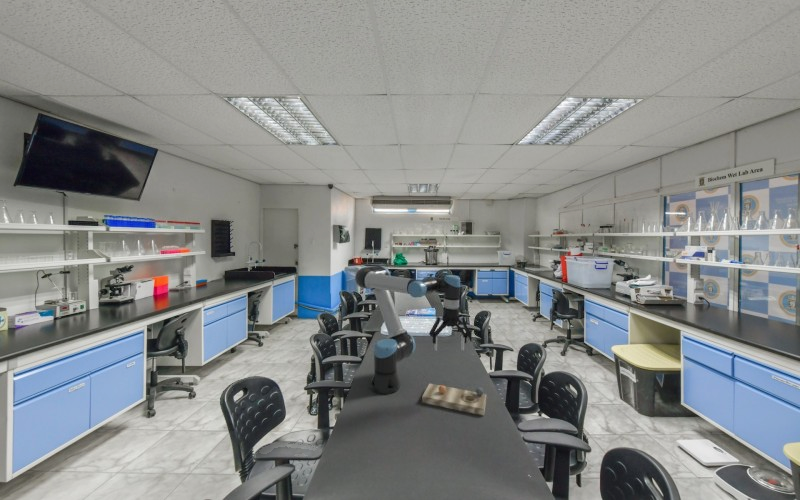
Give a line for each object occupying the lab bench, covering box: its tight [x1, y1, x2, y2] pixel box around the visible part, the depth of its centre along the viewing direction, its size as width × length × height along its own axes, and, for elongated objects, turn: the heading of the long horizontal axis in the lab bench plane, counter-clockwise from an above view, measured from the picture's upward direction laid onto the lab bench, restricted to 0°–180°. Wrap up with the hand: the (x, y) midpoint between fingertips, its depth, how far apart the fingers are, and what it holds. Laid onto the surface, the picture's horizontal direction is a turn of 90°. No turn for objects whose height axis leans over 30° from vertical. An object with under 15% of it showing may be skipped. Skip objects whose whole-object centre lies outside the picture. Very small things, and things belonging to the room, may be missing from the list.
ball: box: [439, 384, 446, 393], centre depth 143 cm, size 4×4×4 cm
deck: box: [421, 383, 487, 417], centre depth 141 cm, size 28×13×3 cm, turn 70°
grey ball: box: [475, 387, 484, 396], centre depth 141 cm, size 4×4×4 cm
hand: (449, 349), depth 147 cm, fingers open, 13 cm apart
